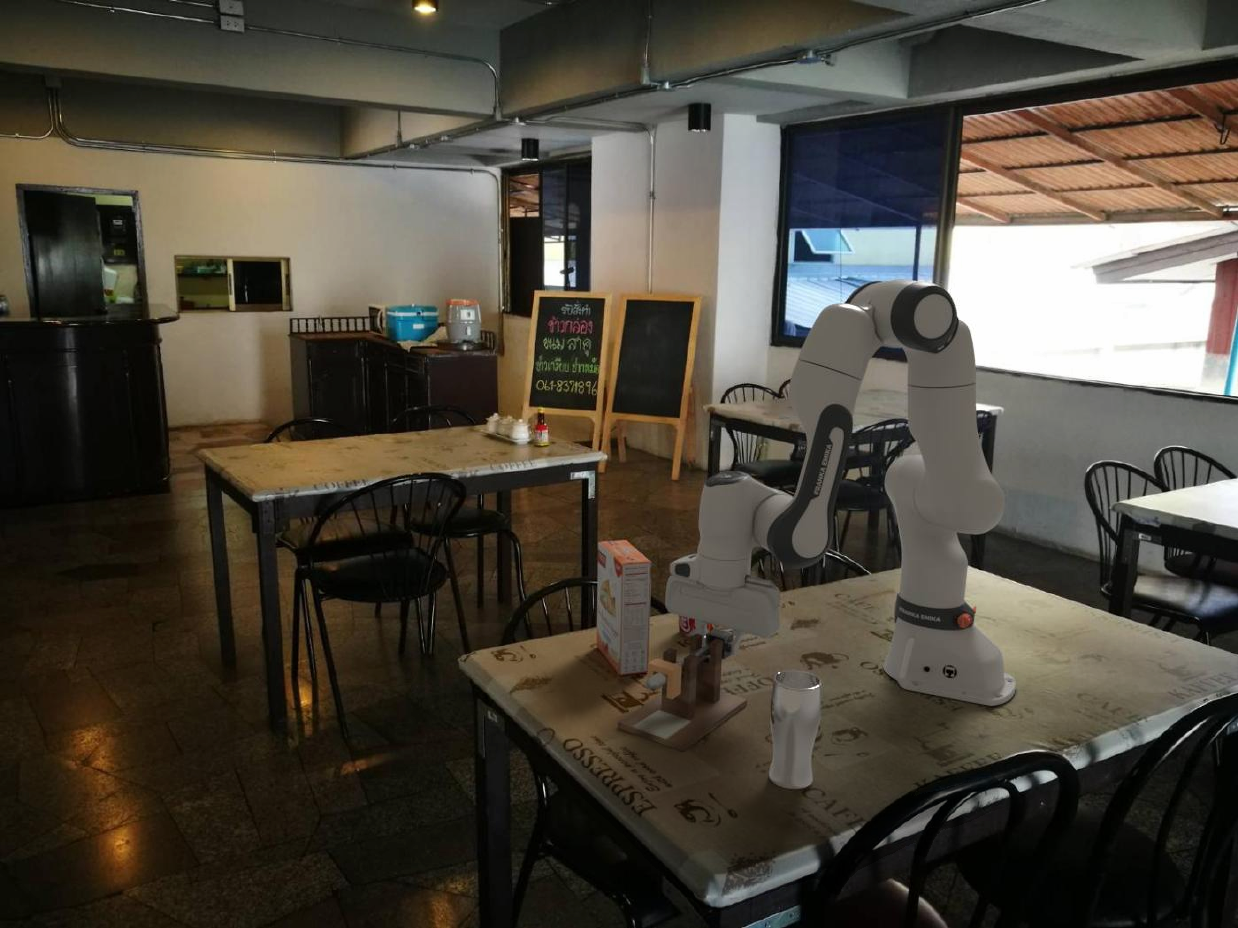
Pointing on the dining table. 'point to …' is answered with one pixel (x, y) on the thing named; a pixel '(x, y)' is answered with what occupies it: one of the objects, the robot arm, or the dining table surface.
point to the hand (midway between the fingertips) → (719, 648)
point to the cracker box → (623, 606)
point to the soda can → (690, 626)
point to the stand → (687, 702)
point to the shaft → (701, 653)
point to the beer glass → (794, 727)
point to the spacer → (672, 676)
